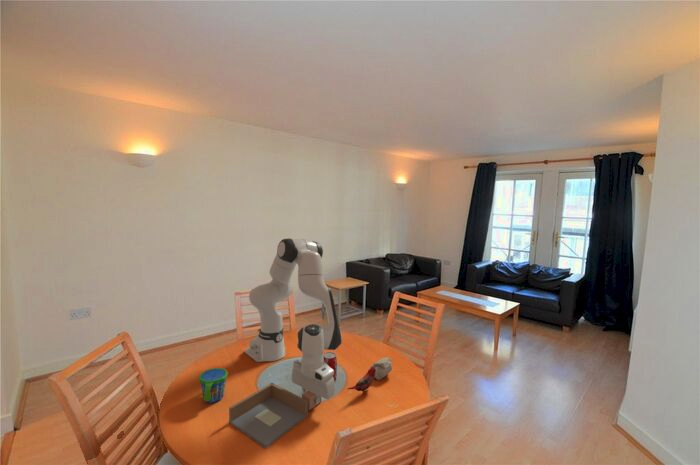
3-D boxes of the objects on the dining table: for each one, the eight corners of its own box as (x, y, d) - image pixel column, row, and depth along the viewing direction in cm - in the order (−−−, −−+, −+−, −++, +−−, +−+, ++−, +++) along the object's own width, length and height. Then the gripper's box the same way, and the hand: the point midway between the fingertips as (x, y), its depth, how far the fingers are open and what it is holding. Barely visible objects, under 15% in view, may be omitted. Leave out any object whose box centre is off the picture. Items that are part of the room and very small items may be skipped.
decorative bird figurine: (378, 388, 139) (379, 366, 138) (349, 405, 127) (350, 381, 126) (373, 385, 141) (374, 363, 140) (344, 401, 129) (345, 378, 128)
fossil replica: (368, 381, 145) (389, 386, 143) (370, 365, 143) (392, 369, 141) (371, 366, 156) (391, 370, 154) (373, 351, 155) (393, 355, 153)
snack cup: (209, 386, 137) (208, 364, 136) (233, 387, 137) (233, 364, 136) (191, 410, 121) (190, 384, 120) (218, 410, 121) (218, 385, 120)
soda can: (334, 385, 140) (335, 359, 139) (319, 383, 141) (319, 357, 140) (338, 377, 147) (338, 352, 146) (323, 375, 148) (324, 350, 147)
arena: (229, 422, 115) (229, 407, 114) (271, 396, 131) (272, 382, 130) (265, 448, 103) (265, 431, 103) (307, 416, 119) (307, 400, 119)
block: (309, 410, 122) (309, 397, 122) (301, 406, 124) (302, 393, 124) (321, 401, 128) (321, 389, 127) (313, 397, 130) (314, 385, 130)
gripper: (288, 361, 128) (287, 394, 129) (327, 379, 116) (326, 414, 118) (299, 356, 133) (298, 387, 135) (337, 372, 122) (336, 406, 123)
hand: (311, 400), depth 126 cm, fingers closed on block, 4 cm apart
